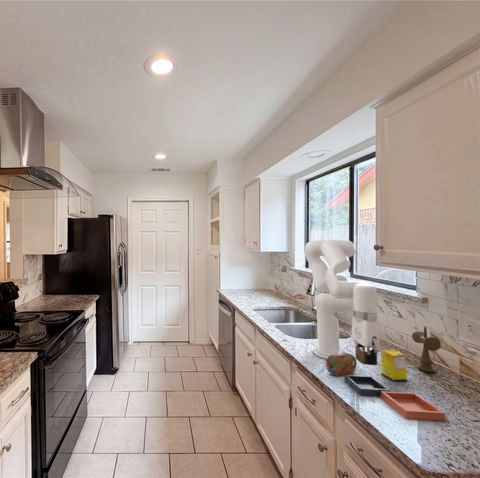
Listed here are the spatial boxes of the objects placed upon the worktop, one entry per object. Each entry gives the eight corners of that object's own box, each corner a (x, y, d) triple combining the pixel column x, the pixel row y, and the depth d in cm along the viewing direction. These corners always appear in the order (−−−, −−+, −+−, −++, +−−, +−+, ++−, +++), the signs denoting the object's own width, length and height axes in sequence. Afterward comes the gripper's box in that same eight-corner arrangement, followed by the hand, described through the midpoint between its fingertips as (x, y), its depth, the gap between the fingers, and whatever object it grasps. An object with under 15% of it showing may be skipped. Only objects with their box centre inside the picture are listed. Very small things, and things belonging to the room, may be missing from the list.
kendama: (425, 374, 115) (424, 329, 115) (411, 365, 124) (410, 322, 125) (442, 376, 113) (441, 330, 114) (427, 366, 123) (426, 323, 123)
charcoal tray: (344, 380, 111) (344, 374, 111) (371, 382, 110) (371, 376, 110) (360, 395, 100) (360, 388, 100) (391, 397, 99) (390, 390, 99)
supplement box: (393, 373, 116) (393, 349, 116) (407, 381, 110) (406, 354, 110) (380, 374, 116) (380, 349, 116) (393, 381, 110) (393, 355, 110)
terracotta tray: (380, 397, 99) (380, 391, 99) (415, 399, 97) (414, 392, 97) (406, 418, 87) (405, 410, 87) (445, 420, 86) (445, 413, 86)
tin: (331, 377, 114) (330, 357, 114) (324, 373, 117) (324, 354, 117) (357, 372, 118) (357, 353, 118) (350, 369, 121) (350, 350, 121)
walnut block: (355, 358, 108) (355, 346, 108) (368, 359, 107) (368, 347, 107) (363, 364, 103) (363, 351, 103) (377, 365, 102) (377, 352, 102)
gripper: (342, 309, 114) (343, 352, 114) (369, 321, 97) (370, 371, 97) (361, 310, 113) (362, 352, 113) (391, 322, 96) (392, 372, 96)
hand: (366, 360), depth 105 cm, fingers closed on walnut block, 5 cm apart
